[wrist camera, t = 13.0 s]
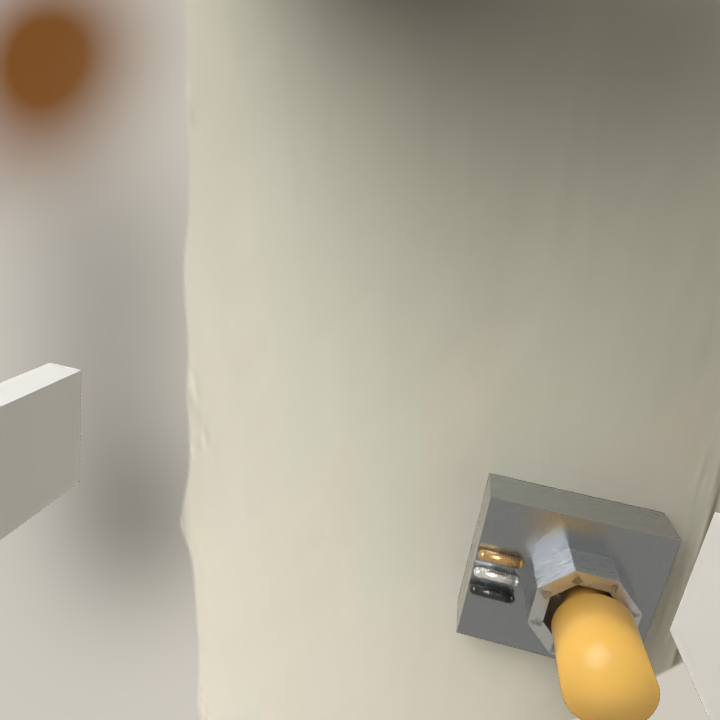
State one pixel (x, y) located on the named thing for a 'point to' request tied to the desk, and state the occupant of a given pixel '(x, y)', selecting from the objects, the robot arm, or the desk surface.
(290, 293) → the desk surface
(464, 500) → the desk surface
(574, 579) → the box
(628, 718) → the yellow capsule
